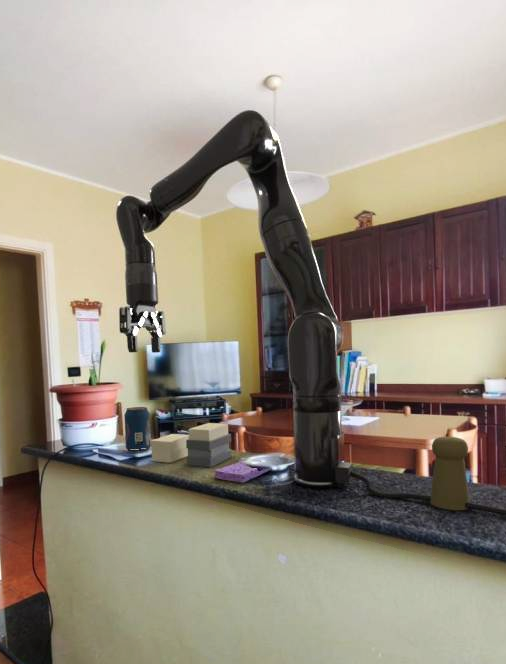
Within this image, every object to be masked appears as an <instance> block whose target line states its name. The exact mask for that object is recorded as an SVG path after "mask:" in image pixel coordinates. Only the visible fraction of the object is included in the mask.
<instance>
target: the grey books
mask: <svg viewBox="0 0 506 664" xmlns="http://www.w3.org/2000/svg"><path fill="white" fill-rule="evenodd" d="M230 443H232V434H231V433H228V434H227V435H224V436H221V437H219V438H216V439H213V440H211V441H200V440H189V439H188V440H186V448H188V456H186V465H187V466H192V467H193V466H194V467H202V468H203V467H204V468H212V467H214V466H217V465H218V464H221V463H222V462H225V461H226V460H228V459H230V458H232V449H231V448H230Z"/></svg>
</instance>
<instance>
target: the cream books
mask: <svg viewBox="0 0 506 664" xmlns="http://www.w3.org/2000/svg"><path fill="white" fill-rule="evenodd" d="M188 439H189V434H183V433H182V434H181V433H171V434H168V435H164V436H161V437H158V438H154V439H151V447H150V451H151V461H152V462H156V463H157V462H159V463H170V464H171V463H174V462H176V461H179V460H181V459H183V458H187V457H188V448H186V440H188Z"/></svg>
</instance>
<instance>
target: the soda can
mask: <svg viewBox="0 0 506 664" xmlns="http://www.w3.org/2000/svg"><path fill="white" fill-rule="evenodd" d="M123 415H124V416H123V417H124V436H125V437H124V438H125V449H126V450H127V452H129V453H130V454H131V453H132V454H139V453H140V454H141V453H146V452H149V450H150V449H151V441H152V439H151V436H152V435H151V414H150V411H149V410H148V407H146V406H135V407H126V411H125V412H124V414H123ZM141 448H146V449H141ZM130 449H139V450H130Z"/></svg>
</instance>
